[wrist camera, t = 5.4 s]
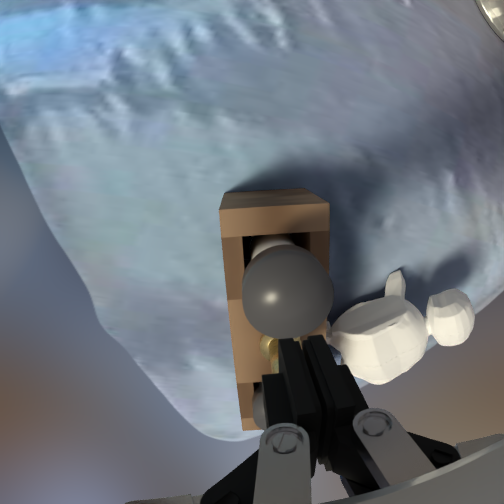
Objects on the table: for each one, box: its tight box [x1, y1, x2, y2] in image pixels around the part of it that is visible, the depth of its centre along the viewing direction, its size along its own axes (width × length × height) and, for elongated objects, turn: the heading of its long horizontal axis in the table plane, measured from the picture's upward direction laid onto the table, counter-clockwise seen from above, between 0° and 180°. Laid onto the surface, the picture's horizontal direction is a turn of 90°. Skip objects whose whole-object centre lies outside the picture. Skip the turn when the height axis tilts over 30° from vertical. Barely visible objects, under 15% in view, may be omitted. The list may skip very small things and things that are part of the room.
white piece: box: [326, 270, 475, 384], centre depth 28 cm, size 9×8×15 cm
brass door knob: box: [260, 334, 301, 374], centre depth 21 cm, size 3×3×5 cm
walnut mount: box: [219, 188, 330, 431], centre depth 27 cm, size 7×20×8 cm, turn 3°
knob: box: [242, 233, 334, 339], centre depth 21 cm, size 5×5×9 cm
